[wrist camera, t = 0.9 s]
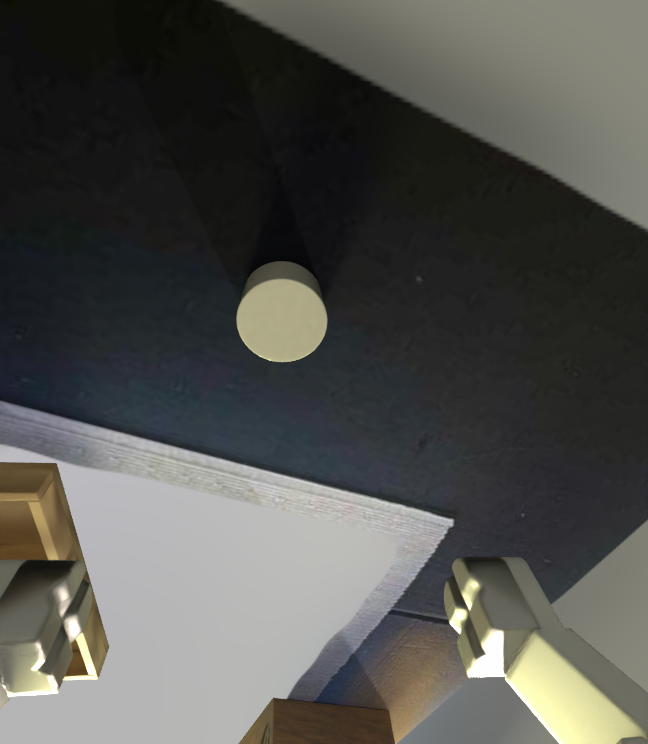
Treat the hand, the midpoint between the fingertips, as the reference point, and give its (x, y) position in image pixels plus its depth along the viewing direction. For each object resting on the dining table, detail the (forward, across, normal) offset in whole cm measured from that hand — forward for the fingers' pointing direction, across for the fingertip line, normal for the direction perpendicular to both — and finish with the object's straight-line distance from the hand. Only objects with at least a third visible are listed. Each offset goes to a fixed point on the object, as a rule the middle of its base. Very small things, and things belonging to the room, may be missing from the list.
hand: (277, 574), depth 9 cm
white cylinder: (+16, 0, -1) cm, 16 cm away
